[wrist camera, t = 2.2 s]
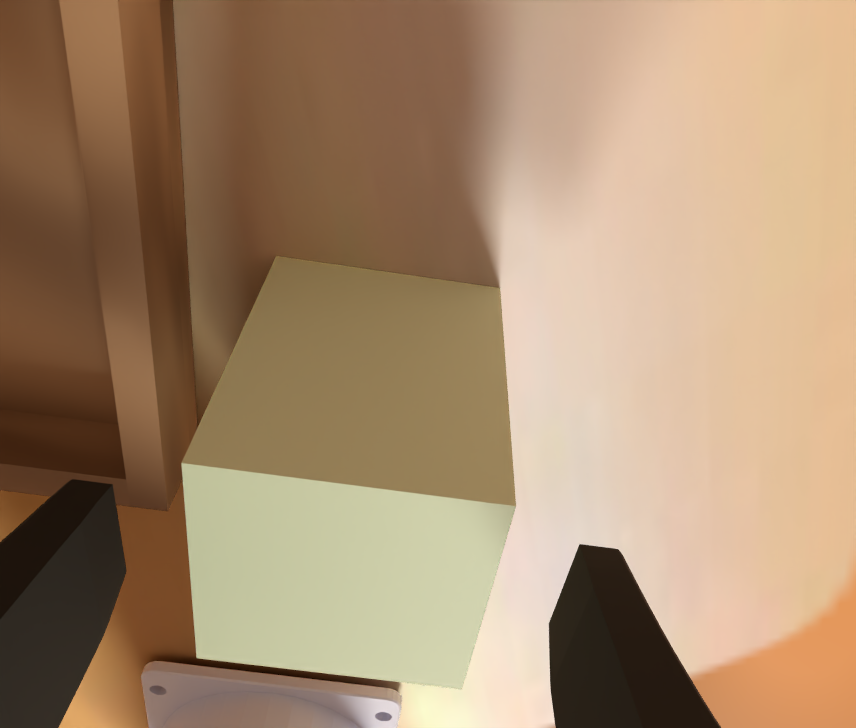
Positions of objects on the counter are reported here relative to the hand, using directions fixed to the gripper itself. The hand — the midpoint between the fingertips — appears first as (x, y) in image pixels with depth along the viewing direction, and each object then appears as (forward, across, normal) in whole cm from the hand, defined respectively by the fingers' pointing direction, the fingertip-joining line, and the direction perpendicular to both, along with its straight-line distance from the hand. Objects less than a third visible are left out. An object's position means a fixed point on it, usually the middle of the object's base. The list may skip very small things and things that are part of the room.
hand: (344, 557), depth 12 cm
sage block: (+5, 0, 0) cm, 5 cm away
